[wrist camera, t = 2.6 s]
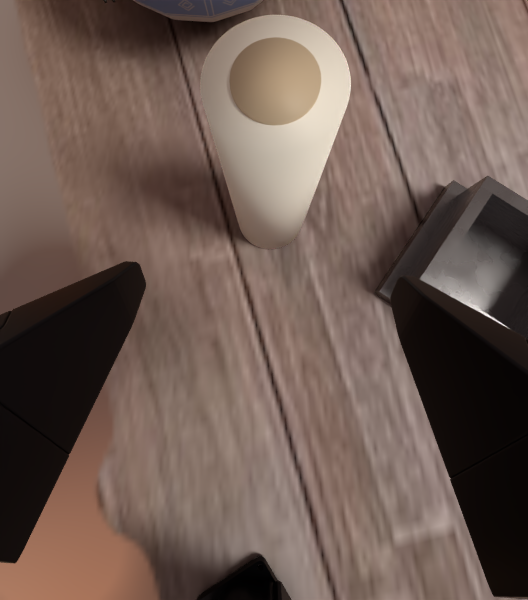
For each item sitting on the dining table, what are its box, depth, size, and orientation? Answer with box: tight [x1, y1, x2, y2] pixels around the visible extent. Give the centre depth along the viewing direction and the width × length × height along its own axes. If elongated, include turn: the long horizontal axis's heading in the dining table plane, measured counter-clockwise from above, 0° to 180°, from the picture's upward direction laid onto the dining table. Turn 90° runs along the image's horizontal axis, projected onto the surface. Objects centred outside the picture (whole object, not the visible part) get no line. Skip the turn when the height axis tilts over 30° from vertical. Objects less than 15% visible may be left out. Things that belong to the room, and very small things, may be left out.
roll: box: [200, 15, 351, 249], centre depth 16 cm, size 6×6×13 cm
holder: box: [374, 176, 528, 339], centre depth 20 cm, size 12×12×4 cm
